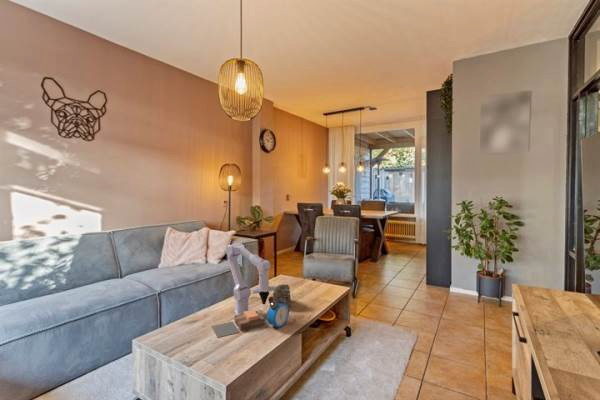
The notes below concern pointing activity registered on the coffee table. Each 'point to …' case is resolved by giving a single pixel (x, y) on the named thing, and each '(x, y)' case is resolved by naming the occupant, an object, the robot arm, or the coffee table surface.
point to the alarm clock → (278, 313)
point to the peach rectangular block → (251, 315)
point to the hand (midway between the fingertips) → (263, 303)
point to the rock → (281, 294)
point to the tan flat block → (248, 322)
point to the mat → (225, 329)
